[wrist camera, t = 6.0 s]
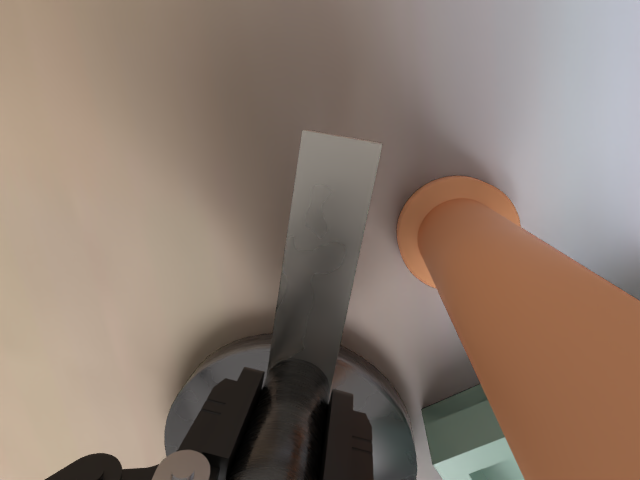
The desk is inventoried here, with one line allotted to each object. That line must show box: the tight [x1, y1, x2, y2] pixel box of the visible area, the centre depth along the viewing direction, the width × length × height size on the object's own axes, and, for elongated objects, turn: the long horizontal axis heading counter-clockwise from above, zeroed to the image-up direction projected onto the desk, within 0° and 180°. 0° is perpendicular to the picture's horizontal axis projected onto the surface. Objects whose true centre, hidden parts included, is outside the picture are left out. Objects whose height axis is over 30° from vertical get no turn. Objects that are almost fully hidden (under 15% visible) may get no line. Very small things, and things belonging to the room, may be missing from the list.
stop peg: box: [397, 176, 640, 480], centre depth 9 cm, size 4×4×12 cm
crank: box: [227, 130, 383, 480], centre depth 11 cm, size 20×5×8 cm, turn 170°
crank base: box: [165, 334, 417, 480], centre depth 18 cm, size 12×12×2 cm
